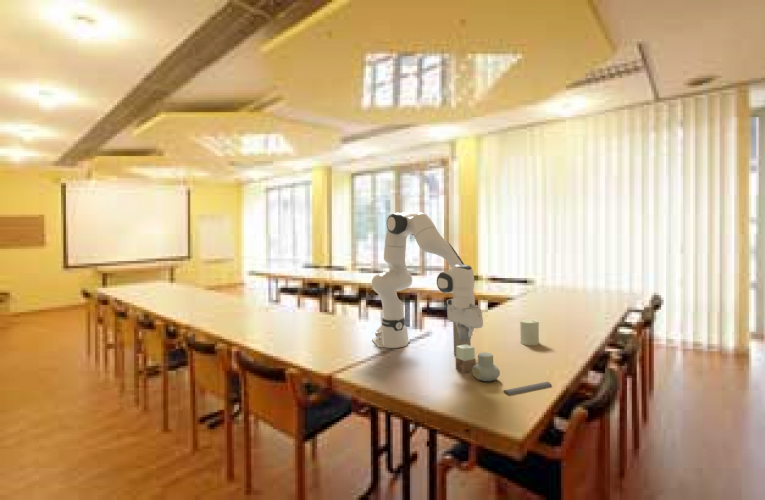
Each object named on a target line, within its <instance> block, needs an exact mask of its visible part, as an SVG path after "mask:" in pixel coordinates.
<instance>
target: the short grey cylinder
mask: <svg viewBox="0 0 765 500" xmlns="http://www.w3.org/2000/svg"><path fill="white" fill-rule="evenodd" d="M468 331H469V329H468V326H466V325H462V326H459V339H461V340H469V339H470V340H471V339H472V336H471V337H469V336H467V332H468Z"/></svg>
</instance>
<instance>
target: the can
mask: <svg viewBox="0 0 765 500" xmlns="http://www.w3.org/2000/svg"><path fill="white" fill-rule="evenodd" d="M519 324H520V327H519V329H520V340H519V342H520V344H522V345H525V346H537V345H538V346H539V345H540V338H539V337H540V336H539V334H540V332H539V331H540V329H539V325H540V322H539V320H537V319H535V318H534V319H533V318H532V319H531V318H522V319H520V320H519Z"/></svg>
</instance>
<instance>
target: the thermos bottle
mask: <svg viewBox="0 0 765 500" xmlns="http://www.w3.org/2000/svg"><path fill="white" fill-rule="evenodd" d="M452 324H453V325H452V329H453V333H452V334H453V336H452V337H453V354H454V355H455V356H456V346H460V345H465V344H467V345H470V346H472V345H471V339H469V340H461V339H459V333H458V329H457V326H456V322H453V321H452ZM462 325H463V324H461V326H462Z"/></svg>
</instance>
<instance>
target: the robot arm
mask: <svg viewBox="0 0 765 500" xmlns="http://www.w3.org/2000/svg"><path fill="white" fill-rule="evenodd" d="M386 228H387V230H386V234H385V237H384V238H385V240H384V251H383V260H384V262H385V263H387V266H388V269H389V270H388V271H385V272H380V273H378V274H376V275H374V276H373V278H372V279H371V287H372V289H373V292H375V293H376V294H377V295H378V296H379V298H380V301H381V305H382V306H381V307H382V317H381V325H380V326H379V327H378V328H377V329H376V332H375V337H372V342H373V343H374V344H375V345H376V346H377V347H378V348H388V349H391V348H392V349H397V348H403V347H406V346H408V345H409V343H411V339H409V333H408V328H407V326H406V325H405V324H406V318H405V310H404V309H405V304H404V302H403V301H402V300H401V299H399V297H398V293H397V292H400V291H404V290H406V289H408V288H410V287H411V285H412V284H413V276H412V274H411V273H410V272H409V270H408V267H407V265H406V252H407V251H406V250H407V237H408V236H409V235H411V236H414V239H415V241H416V243H417V246H418V247H419V248H420V249H421V251H423V252H424V253H425V252H426V253H428V254H432V255H435V256H436V255H437V256H439V257H441V258H443V259H444V260H445V261H446V262H447V264H448V265H449V267H450V269H448V270H445V271H442V272H440V273H438V274H437V278H436V286H437V288H438V290H439V291H440V292H442V293H443V294H449V293H453V298H449V299H447V300H446V304H447V306H446V313H447V314H446V315H447V316H446V317H447V320H448V321H450V322H452V323H453V322H456V326H457V329H458V333H459V326H461V324H463V325H466V326H468V329H469V331H468V332H467V336H469V337H471V338H472V337H473V332H474V330H475V329H481V328H483V326H484V319H483V314H482V310H481V308H480V307H479V305H477V304H476V302H475V301H476V300H475V291H474V288H475V281H476V280H475V278H476V277H475V276H474V275H475V274H474V270H473V267H472V266H471V265H469V264H465V263H464V262H463V260H462V258H461V257H460V256H459V254H458V253H457V251H456V250H455V249H454V247H453V246H452V244H451V243H450V242H448V241H447V240H446V239H445V238H444V237H443V236H442V235H441V233H440V232H439V231H438V229H437V226H436V225H435V224H434V221H433V220H432V219H431V217H429V215H428V214H426V213H424V212H419V213H418V212H411V211H410V212H408V211H407V212H394V213H392V214H391V213H390V215H388V217H387V218H386Z"/></svg>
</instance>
